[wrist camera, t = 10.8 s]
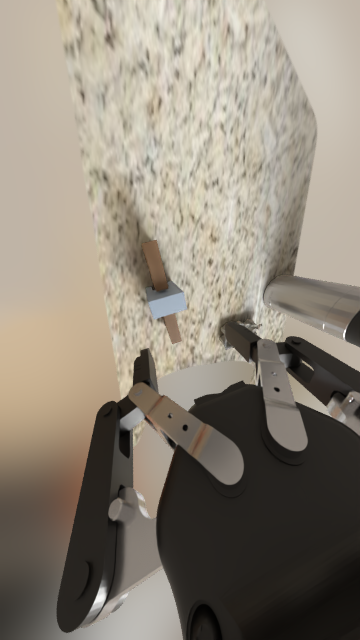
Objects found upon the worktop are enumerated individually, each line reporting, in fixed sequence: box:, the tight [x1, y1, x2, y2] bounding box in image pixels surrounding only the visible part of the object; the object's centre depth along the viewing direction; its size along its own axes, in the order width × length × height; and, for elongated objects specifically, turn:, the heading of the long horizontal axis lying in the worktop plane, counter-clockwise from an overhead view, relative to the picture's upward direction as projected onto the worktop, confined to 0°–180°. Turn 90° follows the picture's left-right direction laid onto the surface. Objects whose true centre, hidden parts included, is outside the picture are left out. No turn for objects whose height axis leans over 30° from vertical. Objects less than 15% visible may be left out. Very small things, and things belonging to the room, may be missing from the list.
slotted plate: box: [142, 240, 182, 344], centre depth 26 cm, size 2×18×7 cm, turn 12°
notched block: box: [146, 281, 187, 319], centre depth 25 cm, size 6×3×9 cm, turn 102°
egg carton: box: [220, 319, 262, 350], centre depth 38 cm, size 11×8×4 cm
